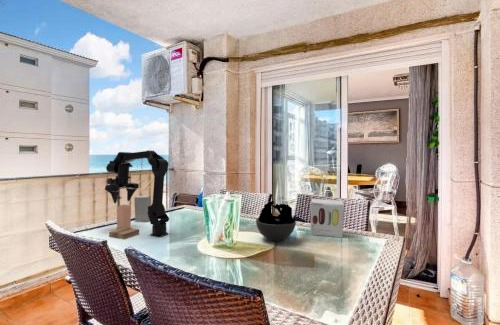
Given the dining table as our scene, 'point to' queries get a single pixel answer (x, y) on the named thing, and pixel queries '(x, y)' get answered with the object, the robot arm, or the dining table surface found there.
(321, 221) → the supplement box
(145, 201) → the skincare box
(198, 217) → the dining table surface
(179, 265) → the dining table surface
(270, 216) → the black rounded bowl
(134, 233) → the walnut slab
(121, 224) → the terracotta block
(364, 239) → the dining table surface
